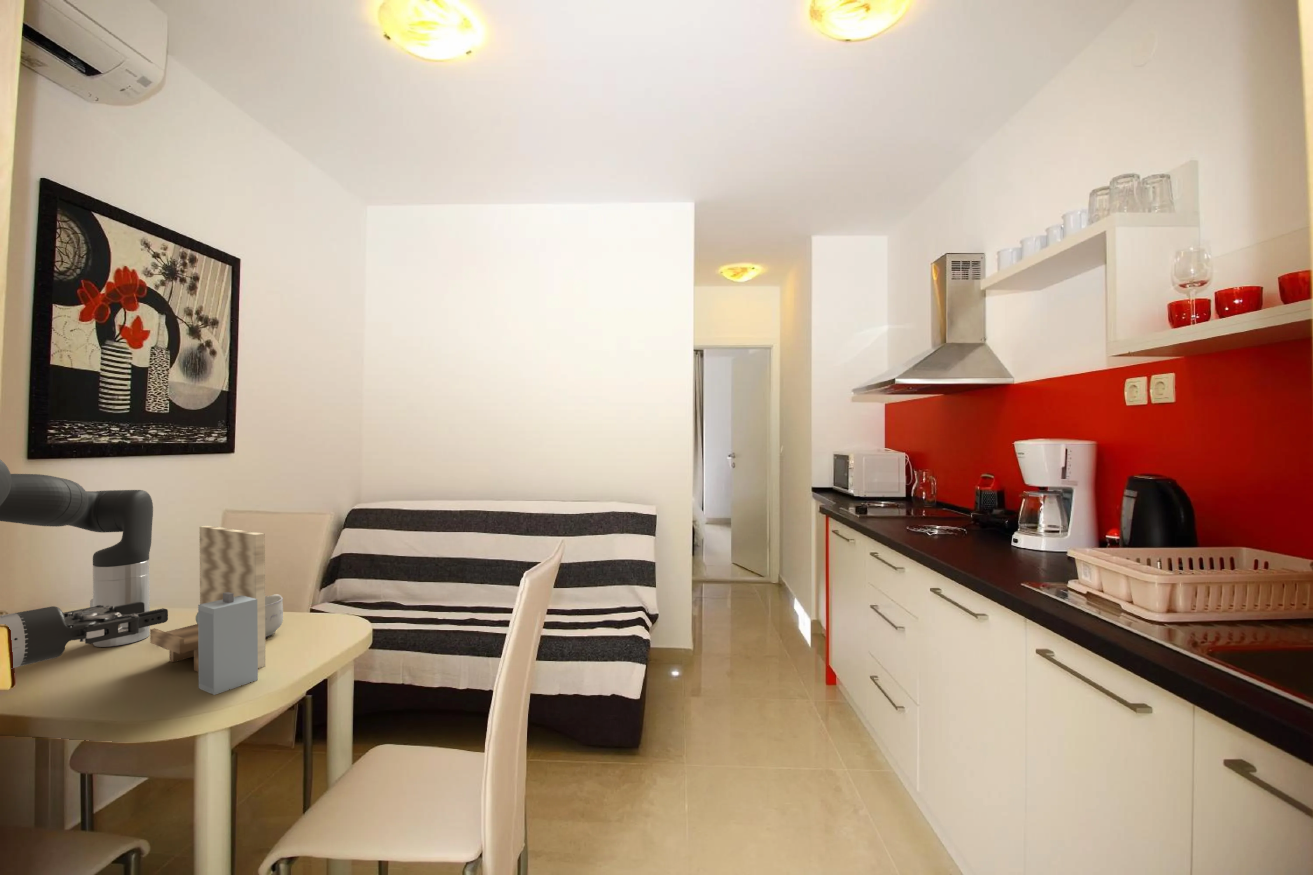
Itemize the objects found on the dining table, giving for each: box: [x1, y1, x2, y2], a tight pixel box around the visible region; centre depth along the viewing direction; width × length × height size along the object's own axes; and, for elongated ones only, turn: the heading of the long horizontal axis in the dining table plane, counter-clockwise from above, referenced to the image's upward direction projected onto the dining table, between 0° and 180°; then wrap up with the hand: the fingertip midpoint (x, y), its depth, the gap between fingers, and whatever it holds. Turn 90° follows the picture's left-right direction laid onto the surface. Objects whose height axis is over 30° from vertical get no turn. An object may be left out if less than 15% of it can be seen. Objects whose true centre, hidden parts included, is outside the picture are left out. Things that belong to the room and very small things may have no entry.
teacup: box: [265, 593, 284, 638], centre depth 133 cm, size 14×11×8 cm
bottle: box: [197, 592, 259, 696], centre depth 106 cm, size 6×7×17 cm
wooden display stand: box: [149, 525, 266, 673], centre depth 115 cm, size 22×11×26 cm, turn 61°
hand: (154, 611), depth 96 cm, fingers open, 8 cm apart
